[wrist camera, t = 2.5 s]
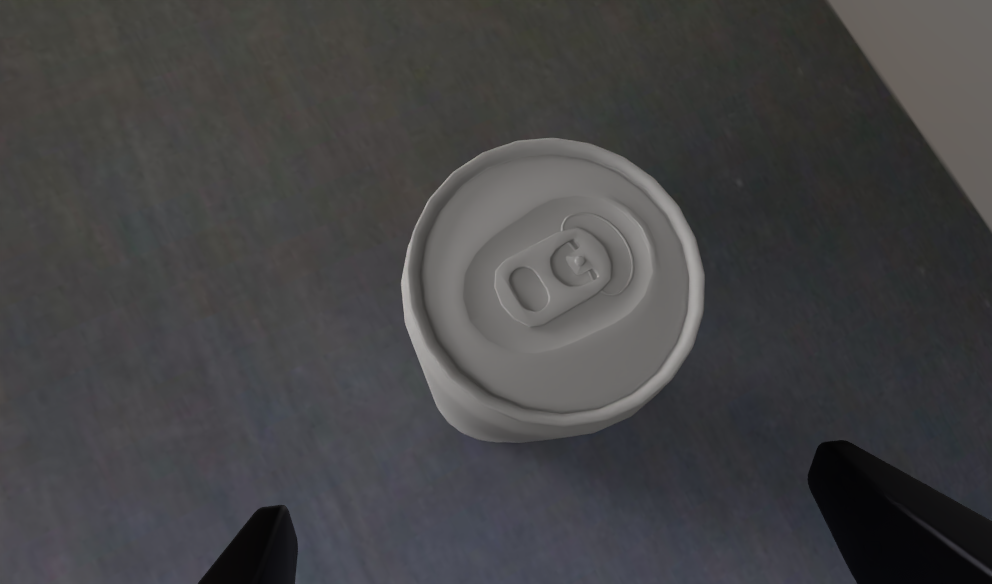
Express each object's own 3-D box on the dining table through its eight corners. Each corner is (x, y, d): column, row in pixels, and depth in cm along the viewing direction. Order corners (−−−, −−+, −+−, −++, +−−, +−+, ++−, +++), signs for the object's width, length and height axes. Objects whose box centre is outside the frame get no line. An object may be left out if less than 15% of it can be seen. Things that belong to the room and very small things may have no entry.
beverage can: (591, 399, 20) (778, 331, 8) (472, 472, 19) (501, 506, 8) (521, 285, 21) (604, 84, 9) (404, 349, 20) (339, 211, 8)
